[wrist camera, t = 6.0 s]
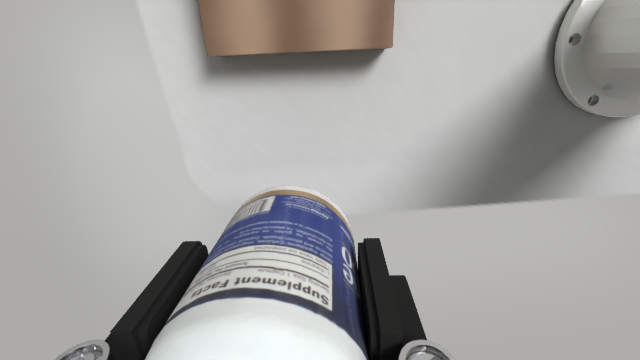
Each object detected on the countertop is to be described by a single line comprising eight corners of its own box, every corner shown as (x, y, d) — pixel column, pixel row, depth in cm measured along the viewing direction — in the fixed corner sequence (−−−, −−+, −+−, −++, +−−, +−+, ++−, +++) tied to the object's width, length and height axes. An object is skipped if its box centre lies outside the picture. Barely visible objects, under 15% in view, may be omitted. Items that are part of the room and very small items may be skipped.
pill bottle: (342, 293, 14) (360, 690, 5) (230, 277, 14) (55, 655, 5) (364, 191, 12) (456, 553, 3) (234, 172, 12) (-37, 490, 3)
